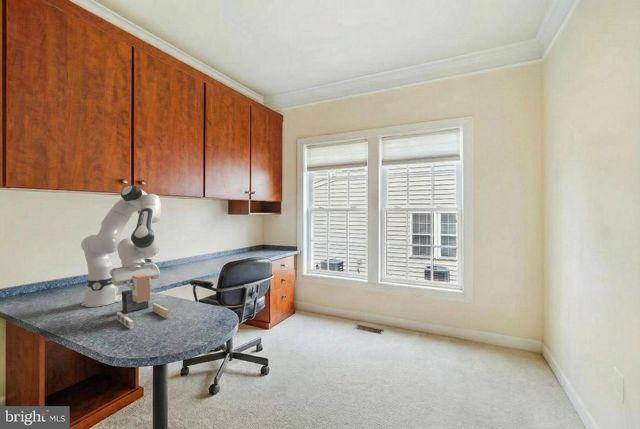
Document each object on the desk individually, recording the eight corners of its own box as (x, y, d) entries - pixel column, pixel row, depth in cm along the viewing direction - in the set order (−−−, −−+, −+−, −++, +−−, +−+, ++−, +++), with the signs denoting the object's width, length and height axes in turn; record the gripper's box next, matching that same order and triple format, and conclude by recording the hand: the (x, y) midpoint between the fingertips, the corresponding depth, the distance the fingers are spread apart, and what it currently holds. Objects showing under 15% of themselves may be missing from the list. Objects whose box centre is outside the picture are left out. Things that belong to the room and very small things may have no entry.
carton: (143, 297, 145) (143, 273, 145) (150, 300, 140) (149, 275, 140) (132, 300, 141) (131, 275, 141) (137, 303, 136) (137, 277, 136)
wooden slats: (116, 319, 138) (115, 310, 138) (153, 310, 151) (153, 302, 151) (129, 329, 125) (129, 320, 125) (169, 318, 137) (169, 309, 137)
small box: (144, 305, 158) (143, 286, 158) (149, 308, 154) (148, 288, 154) (121, 311, 150) (121, 291, 150) (126, 313, 146) (125, 292, 146)
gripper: (109, 264, 137) (117, 288, 131) (156, 258, 153) (164, 279, 146) (107, 273, 140) (114, 296, 134) (153, 266, 155) (161, 287, 149)
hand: (141, 287), depth 140 cm, fingers closed on carton, 5 cm apart
